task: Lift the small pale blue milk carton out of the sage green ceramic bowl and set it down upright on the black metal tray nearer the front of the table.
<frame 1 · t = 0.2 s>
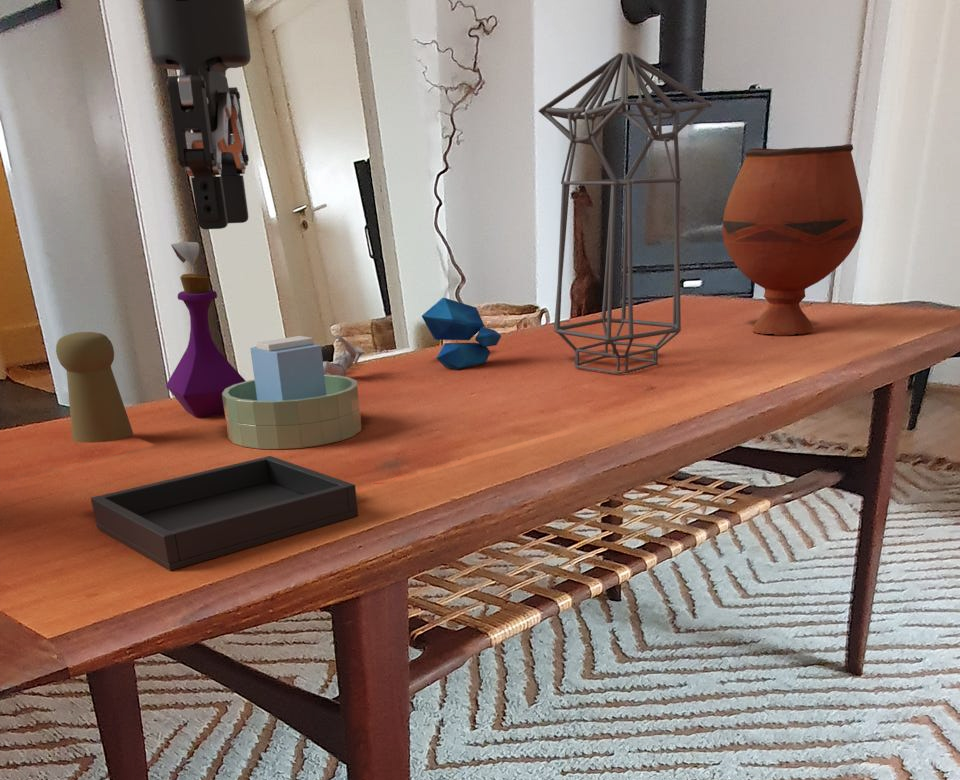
hand: (225, 225, 80), 20 cm above the table, tool pointing down, fingers open, 8 cm apart
geometric lantern: (617, 368, 125), on the table
tray: (228, 522, 74), on the table
perfume bottle: (212, 417, 108), on the table
bowl: (296, 437, 98), on the table
goblet: (780, 332, 146), on the table
soldier figure: (334, 385, 122), on the table
cork: (105, 448, 97), on the table
crystal: (462, 367, 130), on the table
carton: (295, 432, 98), resting on bowl
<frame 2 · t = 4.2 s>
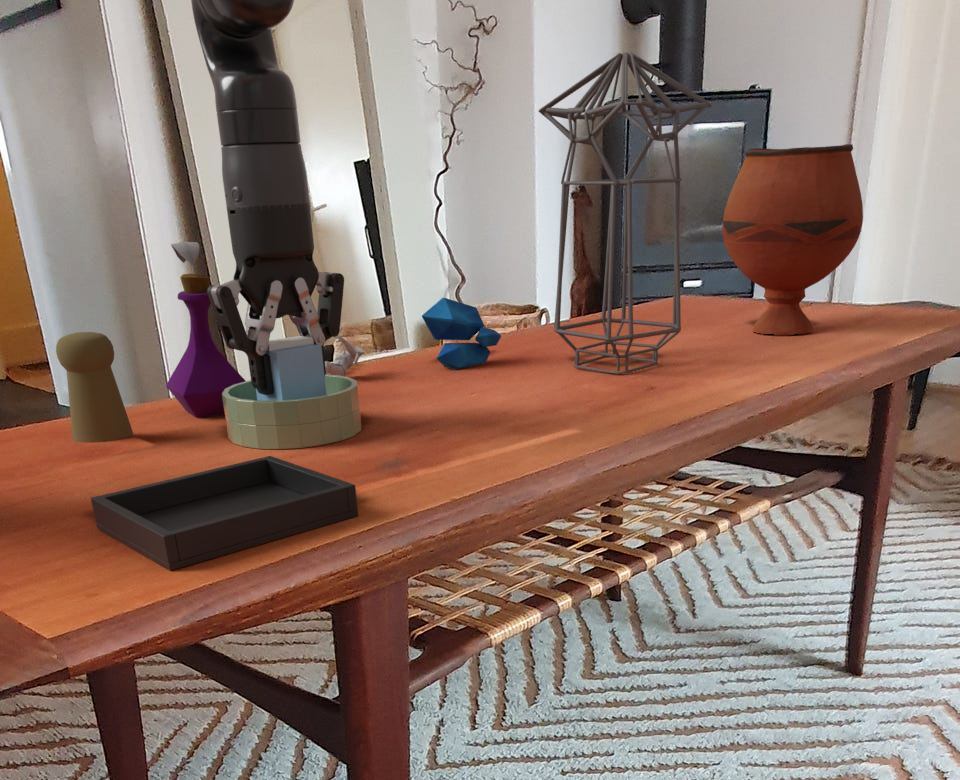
hand: (290, 388, 96), 5 cm above the table, tool pointing down, fingers closed on carton, 5 cm apart
carton: (295, 432, 98), point 1 cm above the table, touching bowl, gripper
everything else where it was.
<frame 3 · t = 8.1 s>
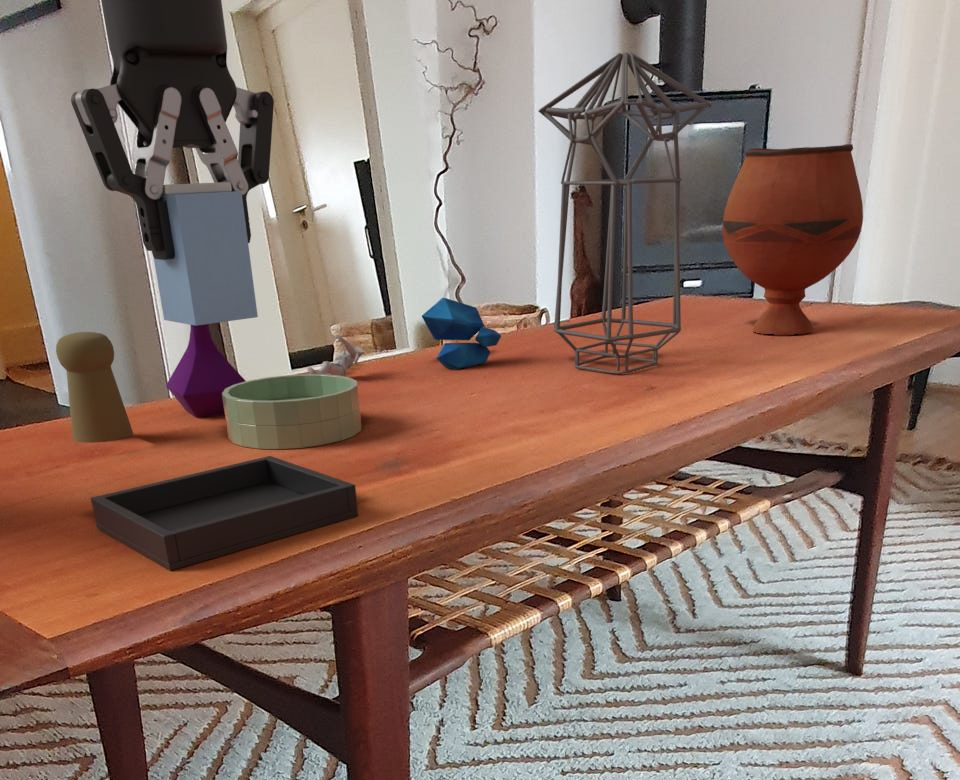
hand: (200, 254, 69), 19 cm above the table, tool pointing down, fingers closed on carton, 5 cm apart
carton: (210, 318, 71), point 15 cm above the table, touching gripper
everything else where it was.
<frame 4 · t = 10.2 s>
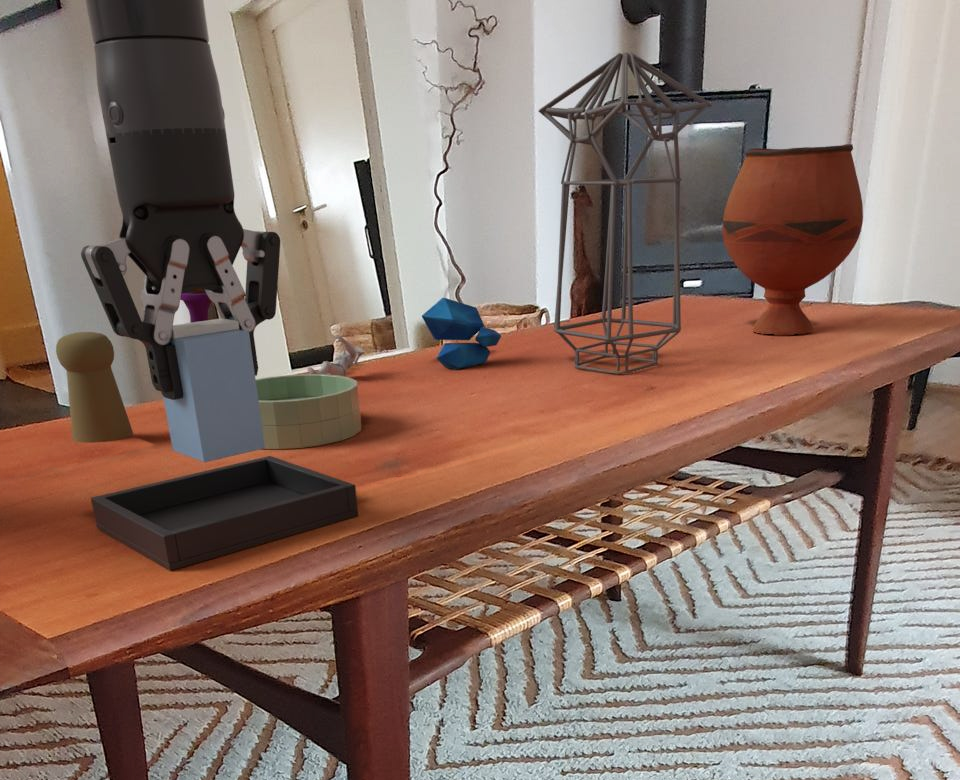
hand: (208, 389, 70), 10 cm above the table, tool pointing down, fingers closed on carton, 5 cm apart
carton: (218, 449, 72), point 6 cm above the table, touching gripper
everything else where it was.
when the fingers open (5 cm above the table, at t = 11.9 s): carton stays where it is, resting on tray.
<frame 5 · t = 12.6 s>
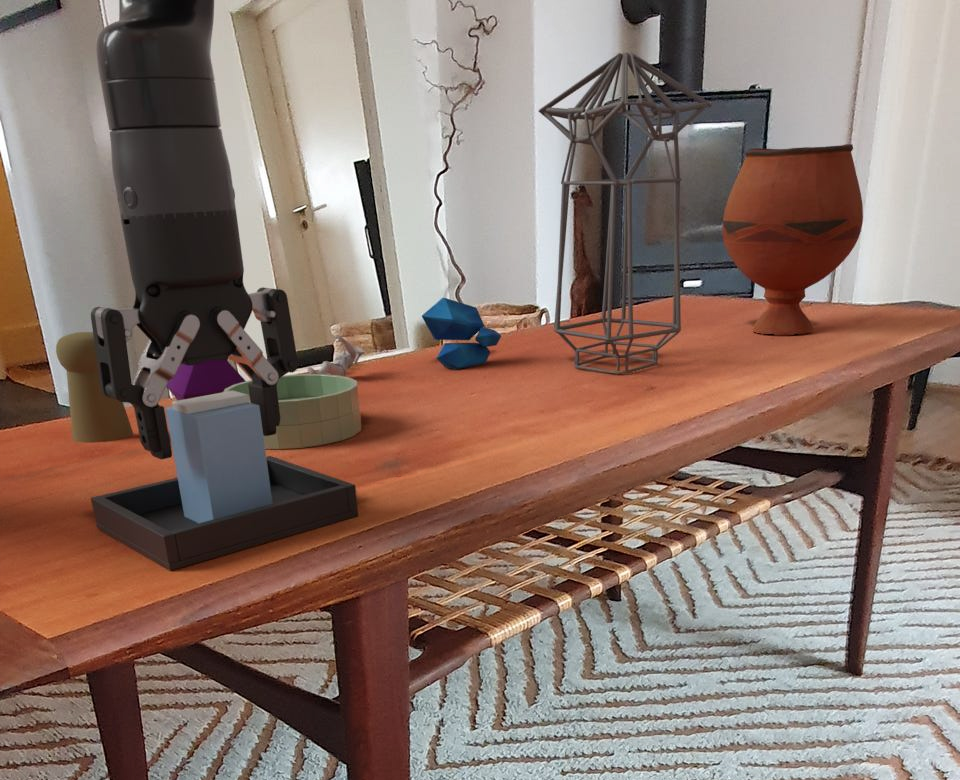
hand: (215, 445, 72), 6 cm above the table, tool pointing down, fingers open, 8 cm apart
carton: (229, 515, 74), resting on tray
everything else where it was.
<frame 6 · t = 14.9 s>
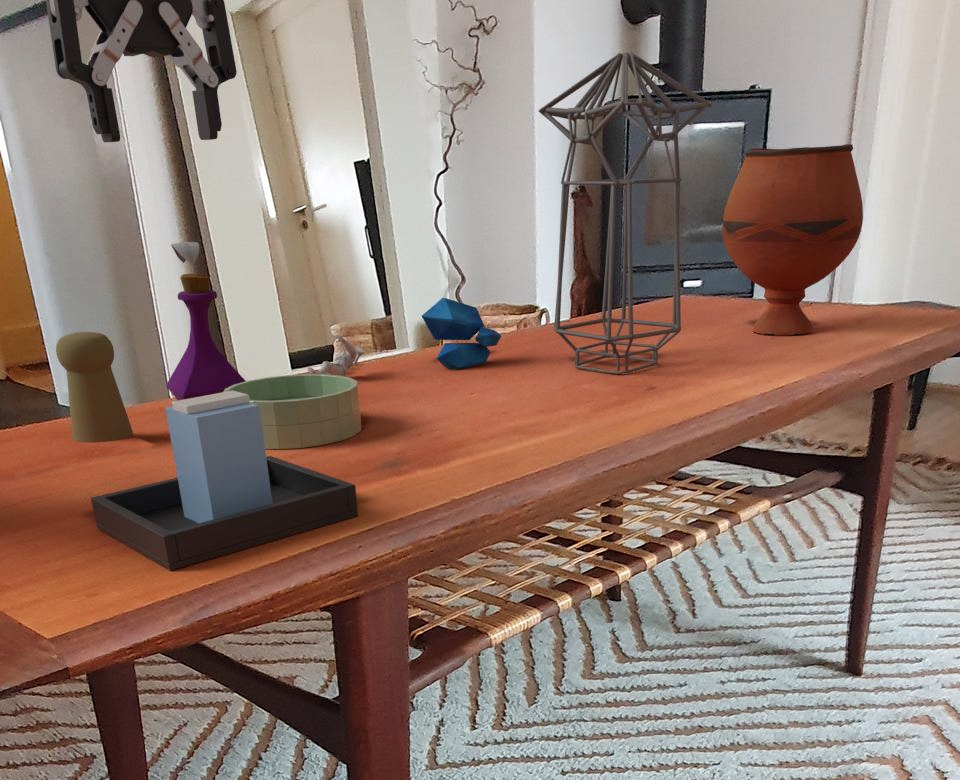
hand: (161, 140, 80), 27 cm above the table, tool pointing down, fingers open, 8 cm apart
nothing on the table moved.
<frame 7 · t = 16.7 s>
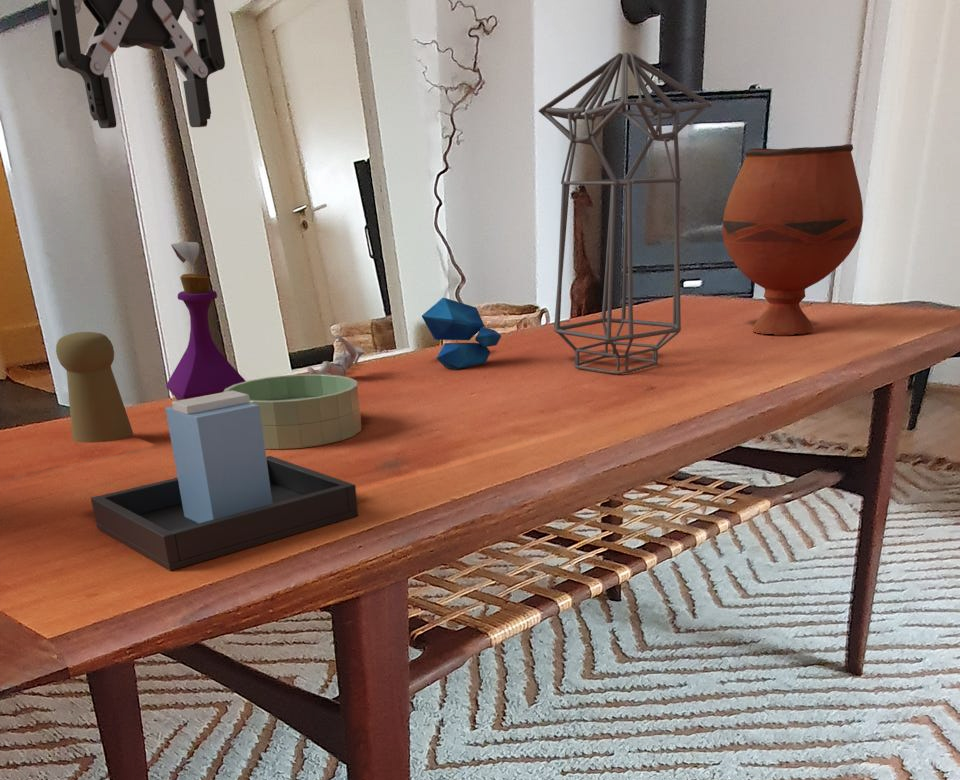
hand: (154, 127, 86), 28 cm above the table, tool pointing down, fingers open, 8 cm apart
nothing on the table moved.
at the end: carton inside the target area in the tray (0.1 cm from its centre), point 0.5 cm above the tray's base; carton tilted 0°; carton touching tray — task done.
